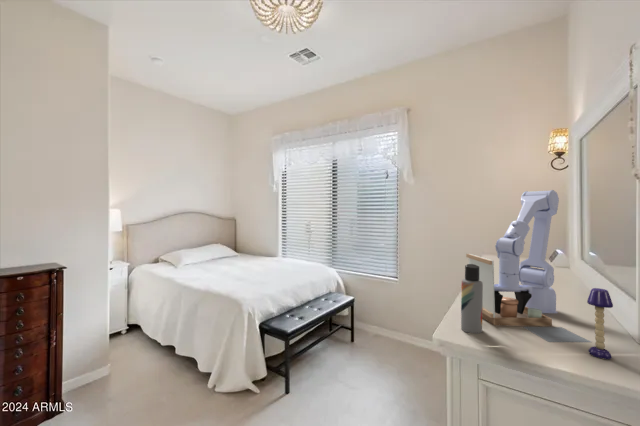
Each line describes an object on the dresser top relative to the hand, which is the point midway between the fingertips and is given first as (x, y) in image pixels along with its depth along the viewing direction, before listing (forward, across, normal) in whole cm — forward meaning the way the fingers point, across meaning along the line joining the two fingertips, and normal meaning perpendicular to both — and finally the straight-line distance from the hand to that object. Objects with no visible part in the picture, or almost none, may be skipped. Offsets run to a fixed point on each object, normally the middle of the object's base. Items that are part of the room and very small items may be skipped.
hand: (508, 312), depth 95 cm
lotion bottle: (+2, +18, +10) cm, 21 cm away
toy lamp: (+2, -7, +24) cm, 25 cm away
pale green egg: (+1, -6, +4) cm, 7 cm away
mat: (+2, -5, +13) cm, 14 cm away
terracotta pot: (+1, 0, 0) cm, 1 cm away
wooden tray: (+2, 0, 0) cm, 2 cm away
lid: (-10, +9, 0) cm, 14 cm away
